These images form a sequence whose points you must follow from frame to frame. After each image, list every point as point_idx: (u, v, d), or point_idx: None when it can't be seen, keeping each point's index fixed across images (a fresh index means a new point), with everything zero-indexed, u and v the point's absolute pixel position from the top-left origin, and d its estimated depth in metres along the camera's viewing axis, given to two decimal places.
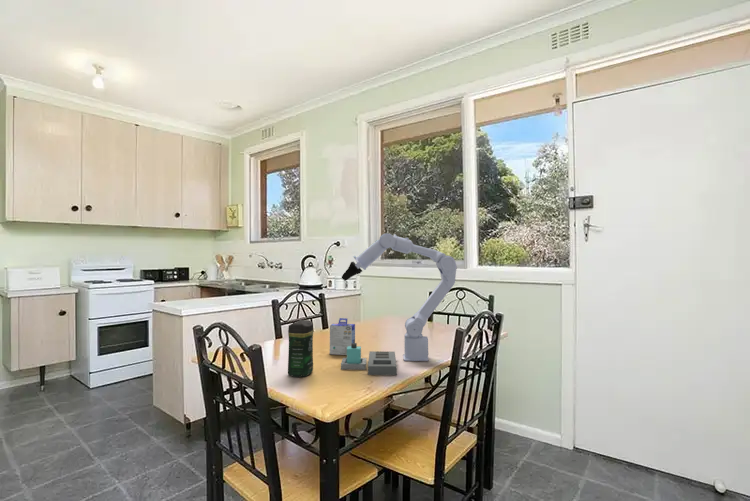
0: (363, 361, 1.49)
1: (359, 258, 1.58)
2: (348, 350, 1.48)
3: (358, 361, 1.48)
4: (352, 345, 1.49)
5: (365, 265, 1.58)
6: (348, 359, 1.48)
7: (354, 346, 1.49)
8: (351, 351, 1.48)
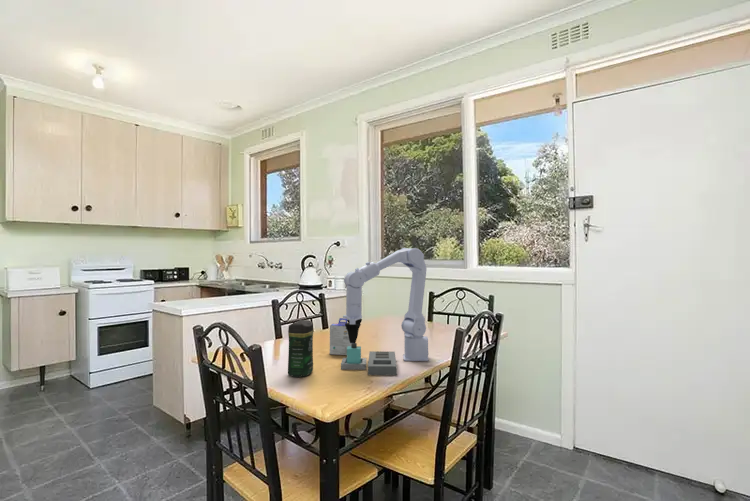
0: (363, 361, 1.49)
1: (348, 314, 1.47)
2: (348, 350, 1.48)
3: (358, 361, 1.48)
4: (352, 345, 1.49)
5: (358, 314, 1.47)
6: (348, 359, 1.48)
7: (354, 346, 1.49)
8: (351, 351, 1.48)
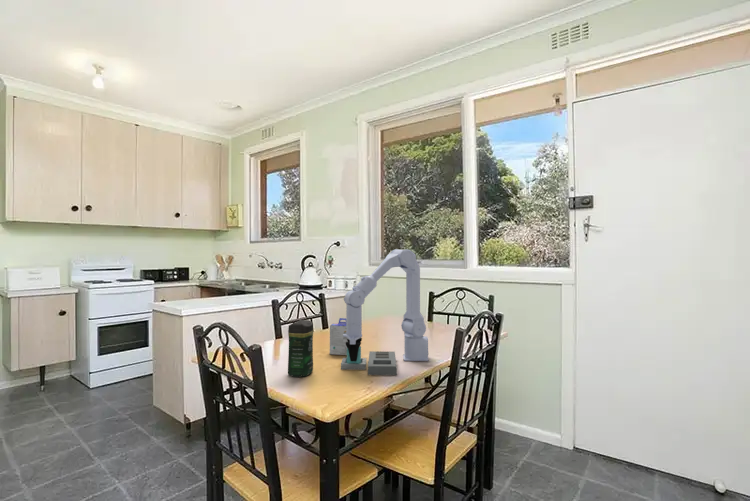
0: (363, 361, 1.49)
1: (348, 333, 1.47)
2: None
3: (358, 361, 1.48)
4: None
5: (358, 333, 1.47)
6: (348, 359, 1.48)
7: None
8: None
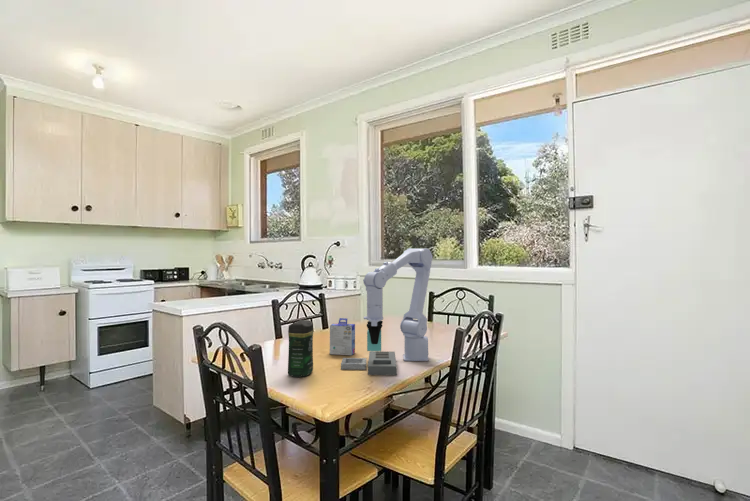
0: (363, 361, 1.49)
1: (369, 315, 1.44)
2: (368, 333, 1.44)
3: (379, 344, 1.44)
4: None
5: (379, 315, 1.43)
6: (368, 342, 1.44)
7: None
8: None
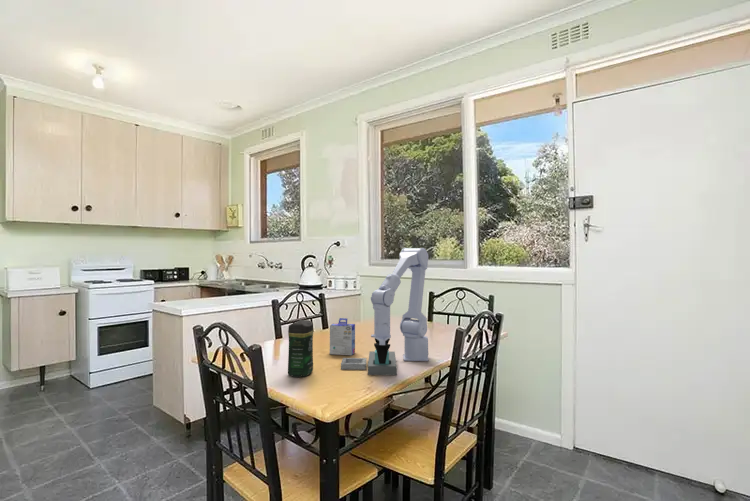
0: (363, 361, 1.49)
1: (377, 334, 1.42)
2: (376, 354, 1.42)
3: None
4: None
5: (387, 334, 1.42)
6: (376, 363, 1.42)
7: None
8: None
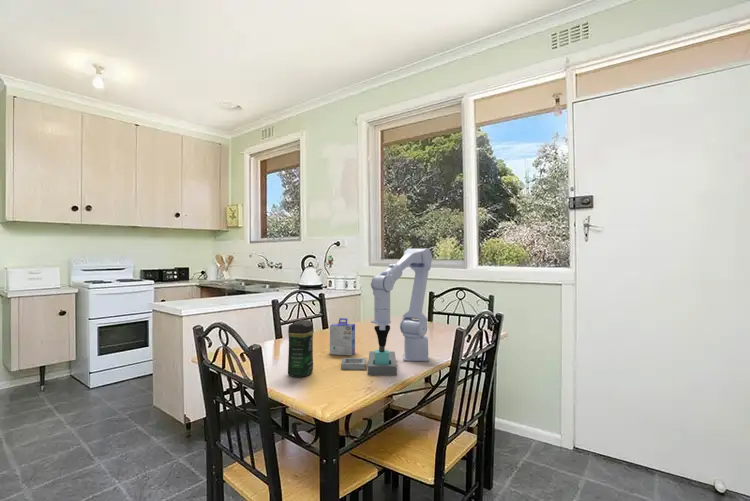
0: (363, 361, 1.49)
1: (377, 319, 1.42)
2: (376, 354, 1.42)
3: None
4: (380, 349, 1.44)
5: (387, 319, 1.42)
6: (376, 363, 1.42)
7: (382, 350, 1.43)
8: (379, 355, 1.42)
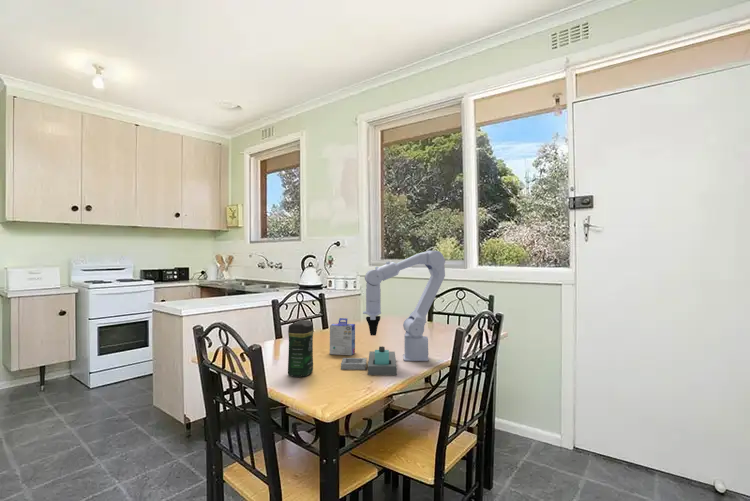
0: (363, 361, 1.49)
1: (368, 310, 1.55)
2: (376, 354, 1.42)
3: None
4: (380, 349, 1.44)
5: (377, 310, 1.55)
6: (376, 363, 1.42)
7: (382, 350, 1.43)
8: (379, 355, 1.42)
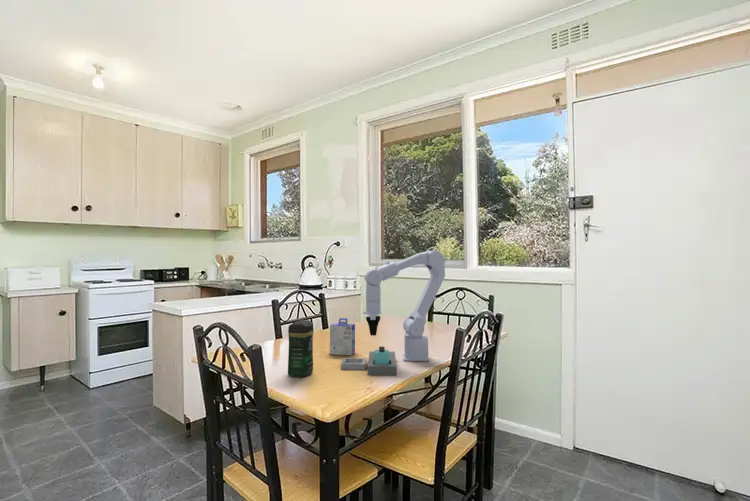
0: (363, 361, 1.49)
1: (368, 310, 1.55)
2: (376, 354, 1.42)
3: None
4: (380, 349, 1.44)
5: (377, 310, 1.55)
6: (376, 363, 1.42)
7: (382, 350, 1.43)
8: (379, 355, 1.42)
